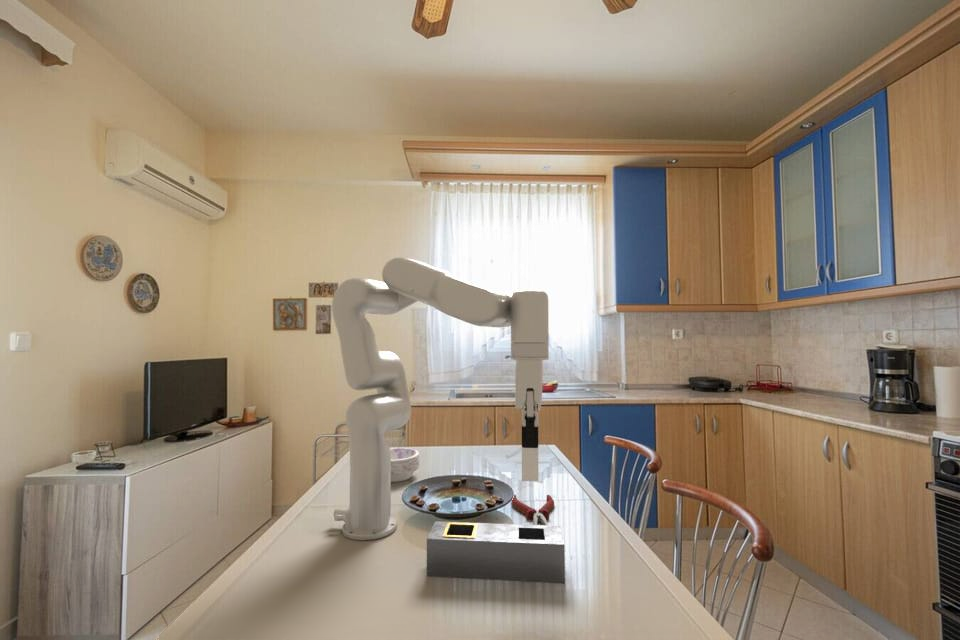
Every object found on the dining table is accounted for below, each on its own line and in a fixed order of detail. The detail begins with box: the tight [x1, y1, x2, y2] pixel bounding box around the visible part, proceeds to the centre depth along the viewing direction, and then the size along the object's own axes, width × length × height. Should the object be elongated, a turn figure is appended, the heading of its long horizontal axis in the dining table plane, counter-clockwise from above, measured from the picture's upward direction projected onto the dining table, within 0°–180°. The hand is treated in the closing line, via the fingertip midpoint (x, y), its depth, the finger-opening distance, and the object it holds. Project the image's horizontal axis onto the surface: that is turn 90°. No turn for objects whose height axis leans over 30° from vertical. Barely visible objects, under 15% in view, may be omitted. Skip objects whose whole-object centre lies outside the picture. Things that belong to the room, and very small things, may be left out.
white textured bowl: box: [390, 447, 421, 483], centre depth 141 cm, size 15×15×8 cm
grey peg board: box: [426, 520, 566, 584], centre depth 85 cm, size 26×8×7 cm, turn 84°
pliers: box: [511, 494, 555, 526], centre depth 111 cm, size 12×20×3 cm, turn 1°
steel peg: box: [521, 410, 539, 483], centre depth 85 cm, size 3×3×13 cm
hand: (529, 444), depth 85 cm, fingers closed on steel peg, 3 cm apart
